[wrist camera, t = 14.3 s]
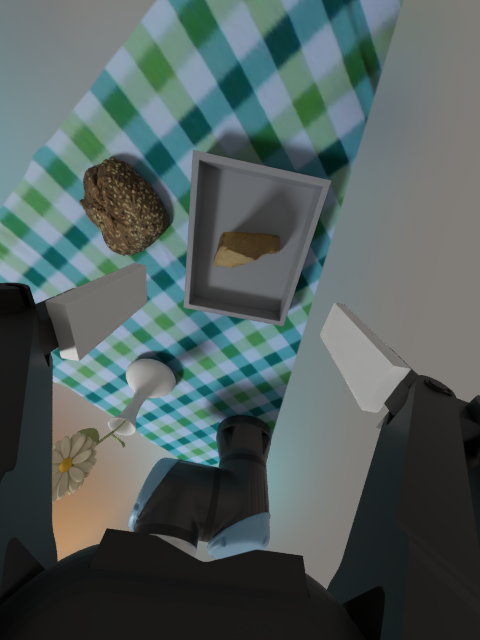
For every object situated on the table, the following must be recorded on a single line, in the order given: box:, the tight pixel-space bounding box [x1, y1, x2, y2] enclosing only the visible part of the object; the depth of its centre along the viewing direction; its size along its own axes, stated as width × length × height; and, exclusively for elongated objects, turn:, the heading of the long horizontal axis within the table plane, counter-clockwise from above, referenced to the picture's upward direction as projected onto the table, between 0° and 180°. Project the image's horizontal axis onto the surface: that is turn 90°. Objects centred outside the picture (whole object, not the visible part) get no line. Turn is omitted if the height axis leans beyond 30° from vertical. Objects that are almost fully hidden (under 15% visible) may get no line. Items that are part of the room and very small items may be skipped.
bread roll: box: [80, 158, 168, 256], centre depth 30 cm, size 13×12×5 cm
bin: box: [184, 150, 331, 326], centre depth 32 cm, size 22×18×4 cm
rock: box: [214, 231, 280, 268], centre depth 31 cm, size 11×9×10 cm
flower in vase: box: [52, 359, 176, 502], centre depth 37 cm, size 13×11×25 cm
